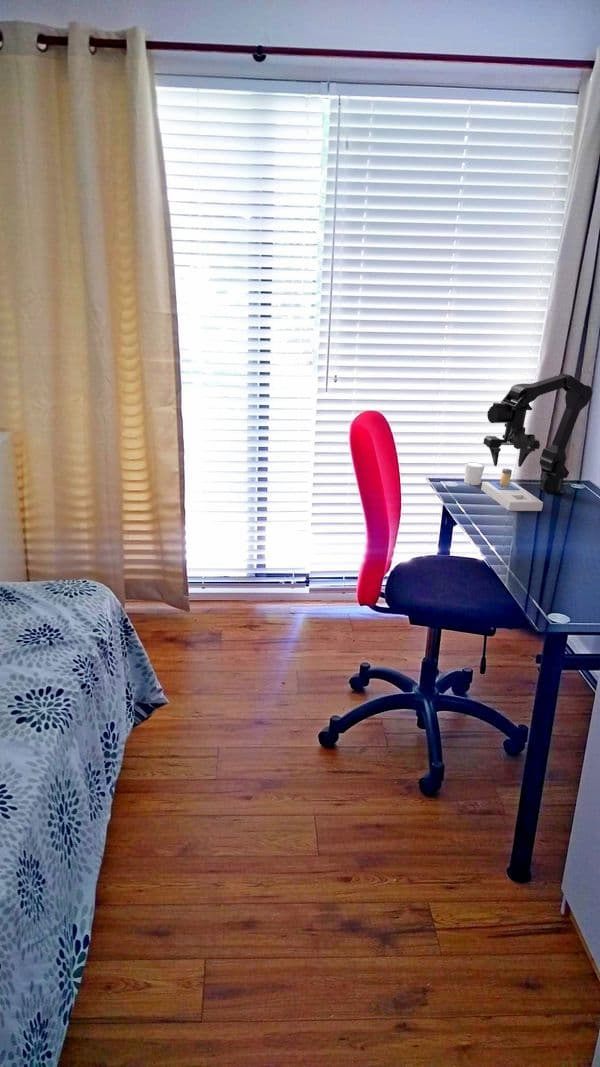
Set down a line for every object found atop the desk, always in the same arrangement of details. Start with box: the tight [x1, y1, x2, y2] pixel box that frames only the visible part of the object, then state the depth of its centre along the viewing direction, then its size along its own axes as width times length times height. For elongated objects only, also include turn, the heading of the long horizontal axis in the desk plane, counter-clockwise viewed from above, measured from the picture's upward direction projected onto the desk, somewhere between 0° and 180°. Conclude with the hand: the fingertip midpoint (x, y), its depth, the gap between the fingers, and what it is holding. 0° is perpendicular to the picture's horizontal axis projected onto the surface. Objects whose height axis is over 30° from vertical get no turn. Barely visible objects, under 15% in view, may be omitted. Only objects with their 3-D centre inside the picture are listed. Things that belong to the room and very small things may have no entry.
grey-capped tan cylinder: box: [499, 468, 513, 487], centre depth 274 cm, size 3×3×9 cm
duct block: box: [480, 481, 544, 512], centre depth 269 cm, size 12×22×3 cm, turn 12°
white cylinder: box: [463, 461, 485, 486], centre depth 285 cm, size 7×7×7 cm
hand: (507, 466), depth 272 cm, fingers open, 9 cm apart
